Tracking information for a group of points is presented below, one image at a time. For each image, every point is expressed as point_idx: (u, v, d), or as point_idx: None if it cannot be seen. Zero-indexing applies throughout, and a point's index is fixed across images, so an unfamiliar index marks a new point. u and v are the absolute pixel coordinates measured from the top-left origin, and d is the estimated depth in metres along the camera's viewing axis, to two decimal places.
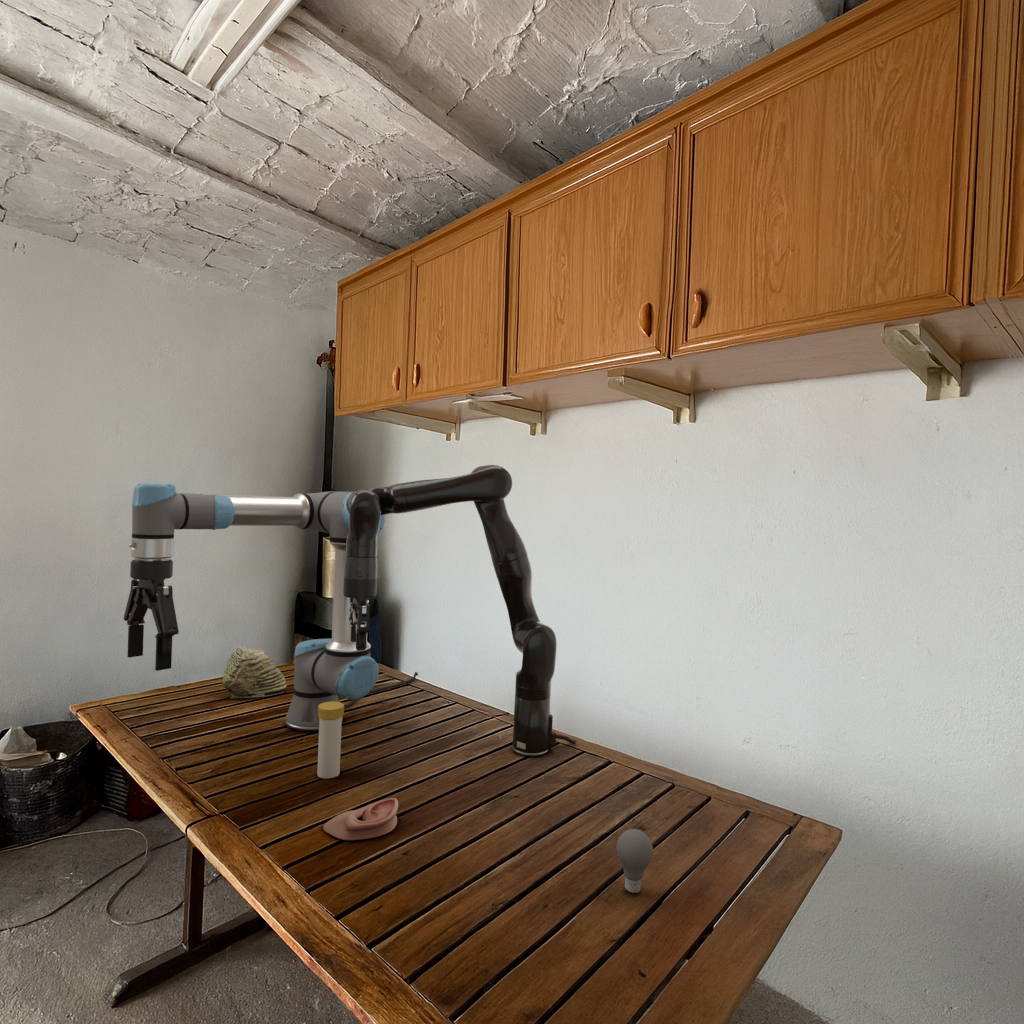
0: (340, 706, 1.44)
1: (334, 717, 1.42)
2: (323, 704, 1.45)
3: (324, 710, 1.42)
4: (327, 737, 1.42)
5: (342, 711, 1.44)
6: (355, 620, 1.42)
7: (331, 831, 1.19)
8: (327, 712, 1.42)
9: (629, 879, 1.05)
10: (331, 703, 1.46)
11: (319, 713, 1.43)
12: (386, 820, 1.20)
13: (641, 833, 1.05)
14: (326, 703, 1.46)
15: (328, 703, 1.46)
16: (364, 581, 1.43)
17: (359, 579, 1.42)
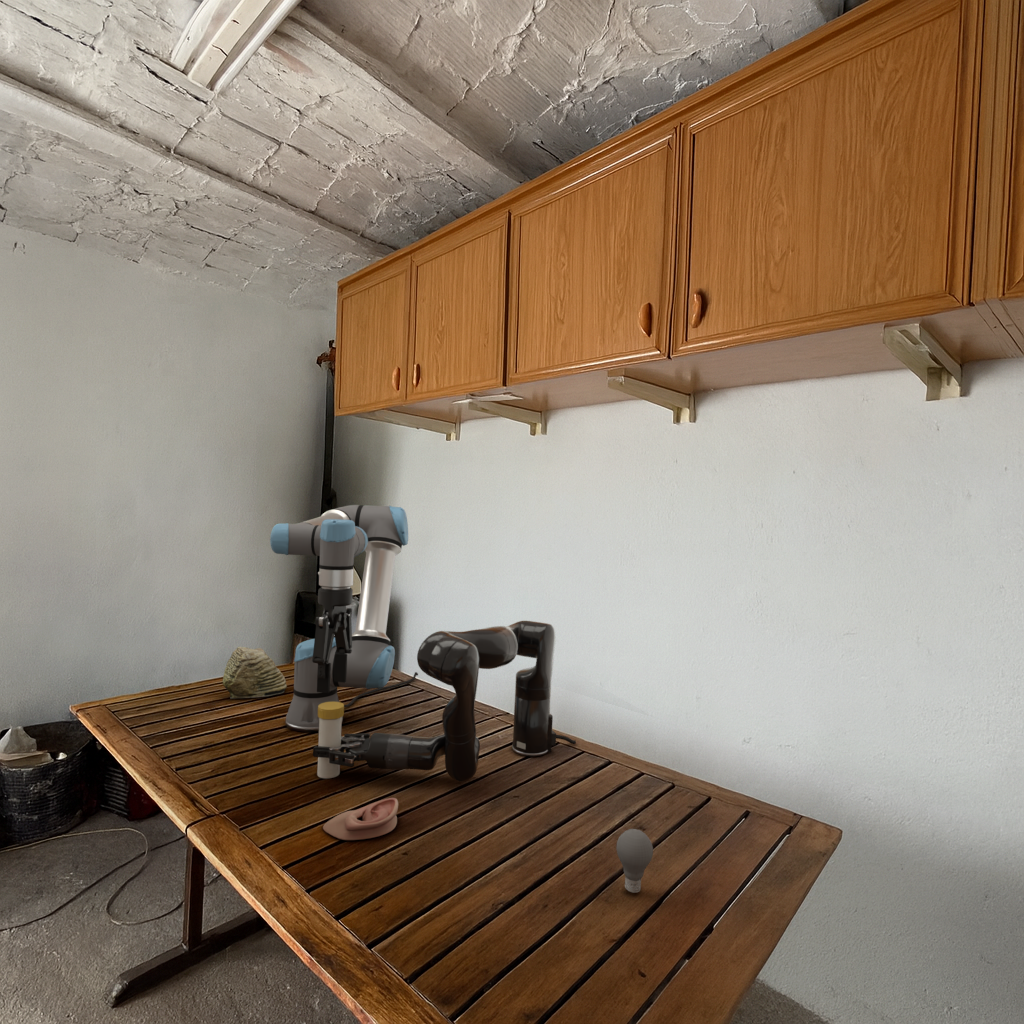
0: (340, 706, 1.44)
1: (334, 717, 1.42)
2: (323, 704, 1.45)
3: (324, 710, 1.42)
4: (327, 737, 1.42)
5: (342, 711, 1.44)
6: None
7: (331, 831, 1.19)
8: (327, 712, 1.42)
9: (629, 879, 1.05)
10: (331, 703, 1.46)
11: (319, 713, 1.43)
12: (386, 820, 1.20)
13: (641, 833, 1.05)
14: (326, 703, 1.46)
15: (328, 703, 1.46)
16: None
17: None
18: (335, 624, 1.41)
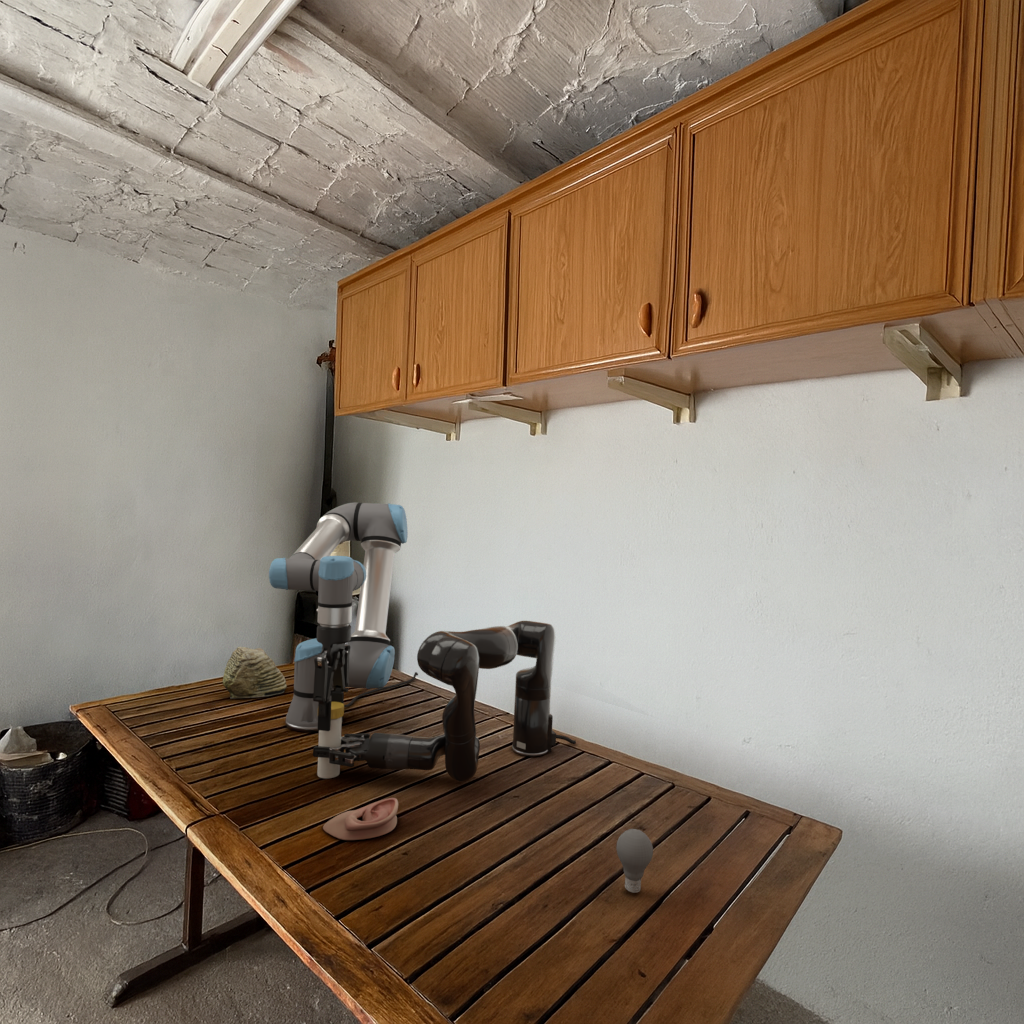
0: (340, 706, 1.44)
1: (334, 717, 1.42)
2: None
3: None
4: (327, 737, 1.42)
5: (342, 711, 1.44)
6: None
7: (331, 831, 1.19)
8: None
9: (629, 879, 1.05)
10: (331, 703, 1.46)
11: None
12: (386, 820, 1.20)
13: (641, 833, 1.05)
14: None
15: None
16: None
17: None
18: (334, 662, 1.42)
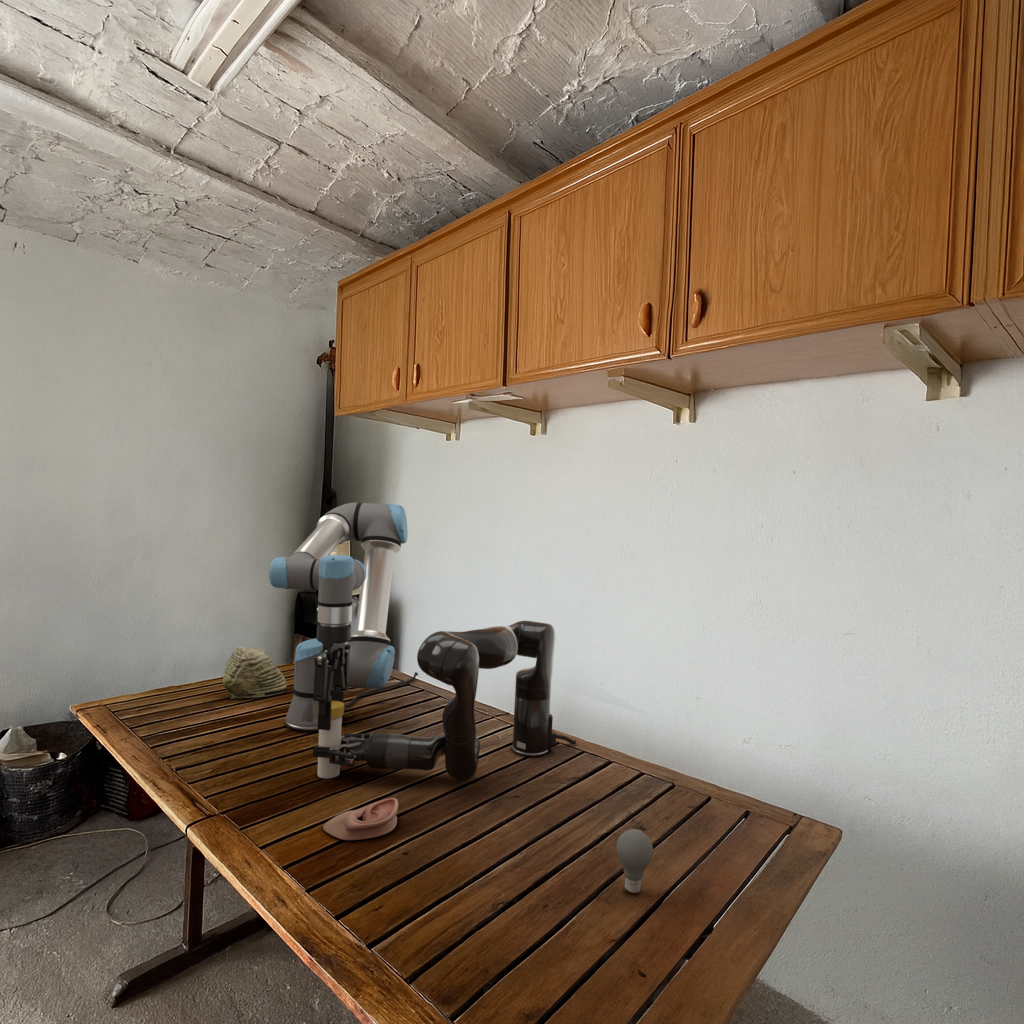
0: (339, 702, 1.46)
1: (343, 713, 1.45)
2: None
3: (337, 709, 1.43)
4: (327, 737, 1.42)
5: None
6: None
7: (331, 831, 1.19)
8: (339, 710, 1.43)
9: (629, 879, 1.05)
10: None
11: None
12: (386, 820, 1.20)
13: (641, 833, 1.05)
14: None
15: None
16: None
17: None
18: (334, 661, 1.42)
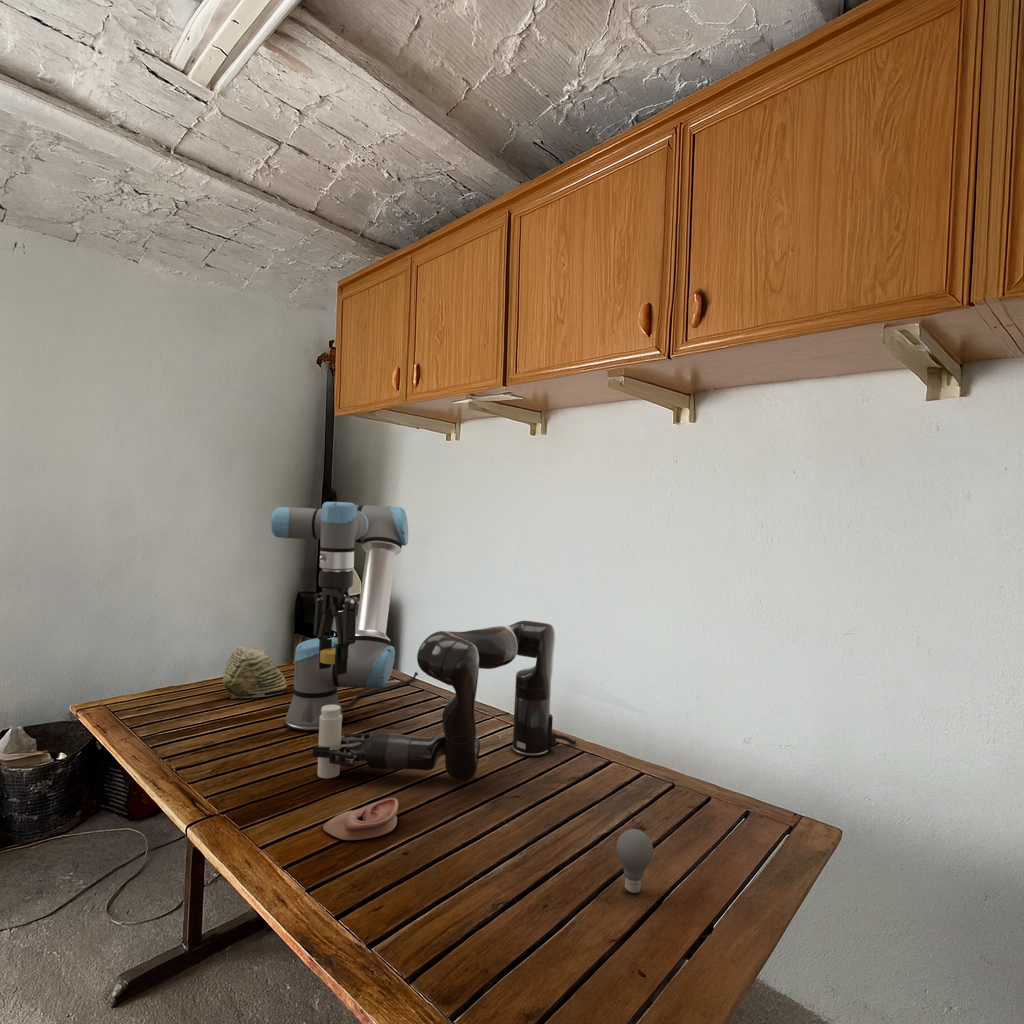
0: (332, 648, 1.47)
1: None
2: (333, 653, 1.43)
3: None
4: (327, 737, 1.42)
5: None
6: None
7: (331, 831, 1.19)
8: None
9: (629, 879, 1.05)
10: (327, 652, 1.43)
11: None
12: (386, 820, 1.20)
13: (641, 833, 1.05)
14: (329, 653, 1.43)
15: (328, 652, 1.43)
16: None
17: None
18: None
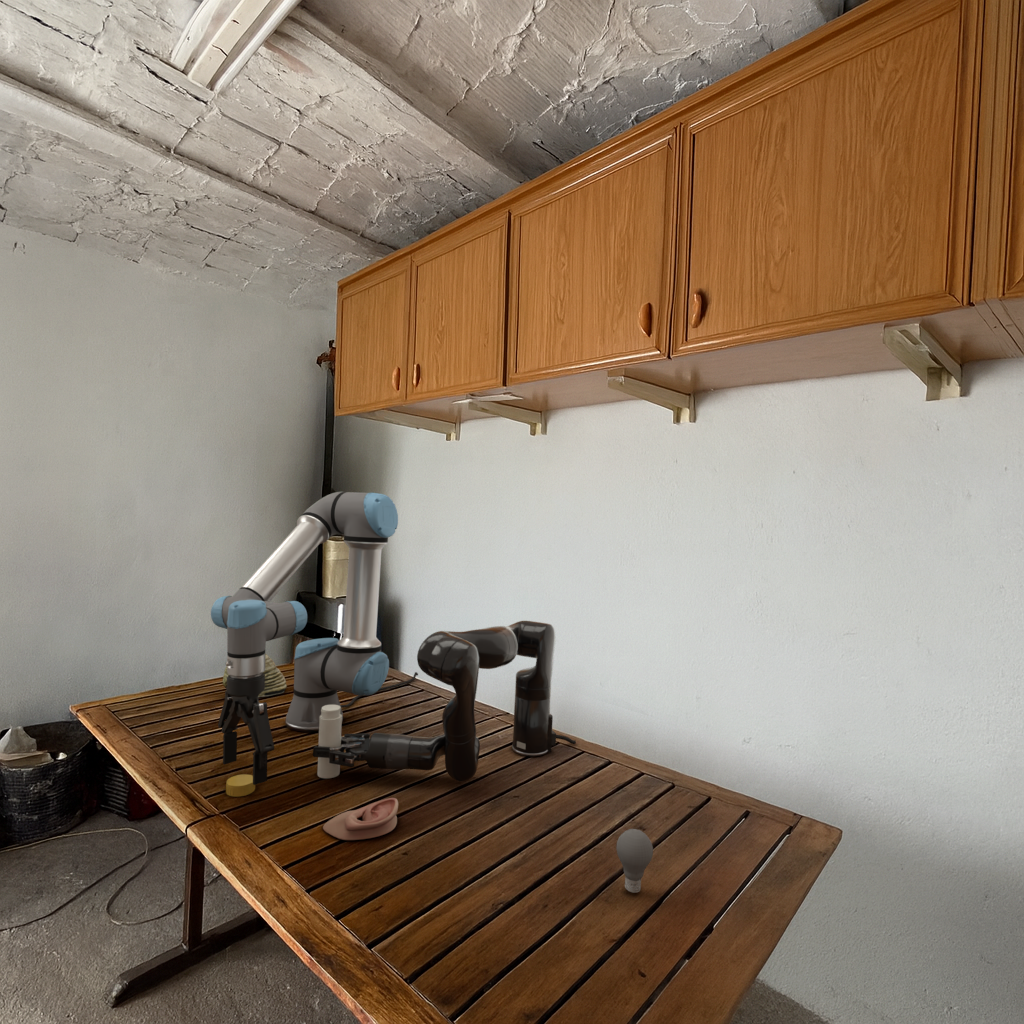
0: (242, 775, 1.37)
1: None
2: (239, 784, 1.33)
3: None
4: (327, 737, 1.42)
5: None
6: None
7: (331, 831, 1.19)
8: None
9: (629, 879, 1.05)
10: (234, 781, 1.34)
11: (251, 788, 1.34)
12: (386, 820, 1.20)
13: (641, 833, 1.05)
14: (235, 783, 1.33)
15: (234, 783, 1.33)
16: None
17: None
18: None
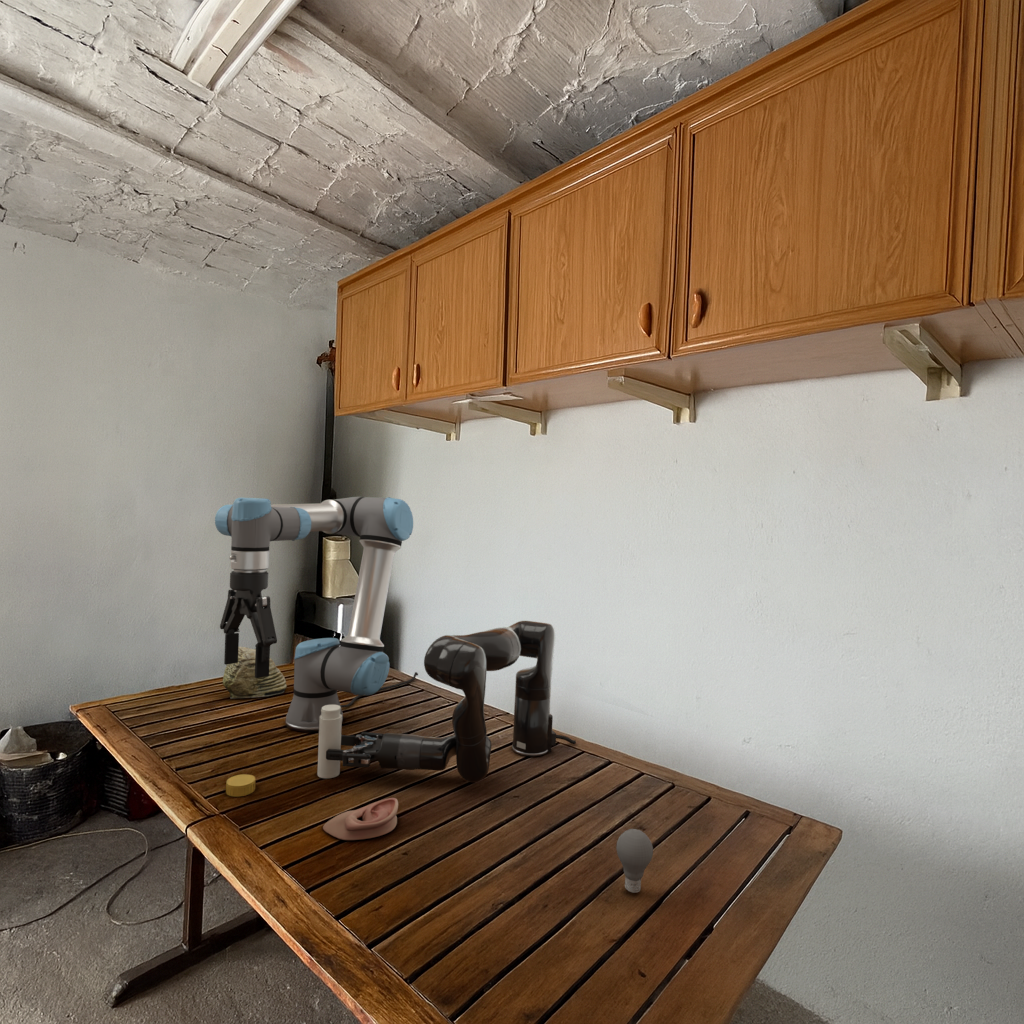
0: (242, 775, 1.37)
1: None
2: (239, 784, 1.33)
3: (255, 780, 1.36)
4: (327, 737, 1.42)
5: None
6: None
7: (331, 831, 1.19)
8: (255, 780, 1.36)
9: (629, 879, 1.05)
10: (234, 781, 1.34)
11: (251, 788, 1.34)
12: (386, 820, 1.20)
13: (641, 833, 1.05)
14: (235, 783, 1.33)
15: (234, 783, 1.33)
16: None
17: None
18: None
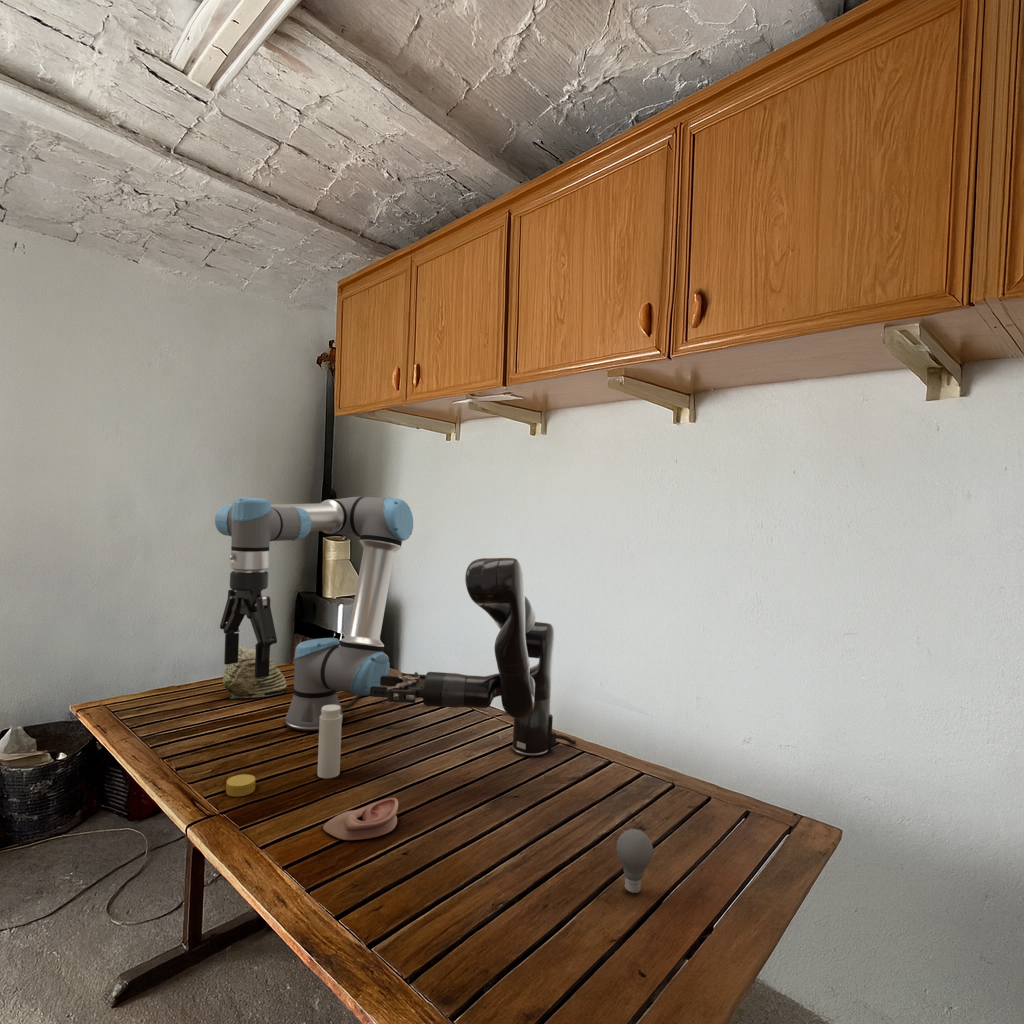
0: (242, 775, 1.37)
1: None
2: (239, 784, 1.33)
3: (255, 780, 1.36)
4: (327, 737, 1.42)
5: None
6: None
7: (331, 831, 1.19)
8: (255, 780, 1.36)
9: (629, 879, 1.05)
10: (234, 781, 1.34)
11: (251, 788, 1.34)
12: (386, 820, 1.20)
13: (641, 833, 1.05)
14: (235, 783, 1.33)
15: (234, 783, 1.33)
16: None
17: None
18: None
